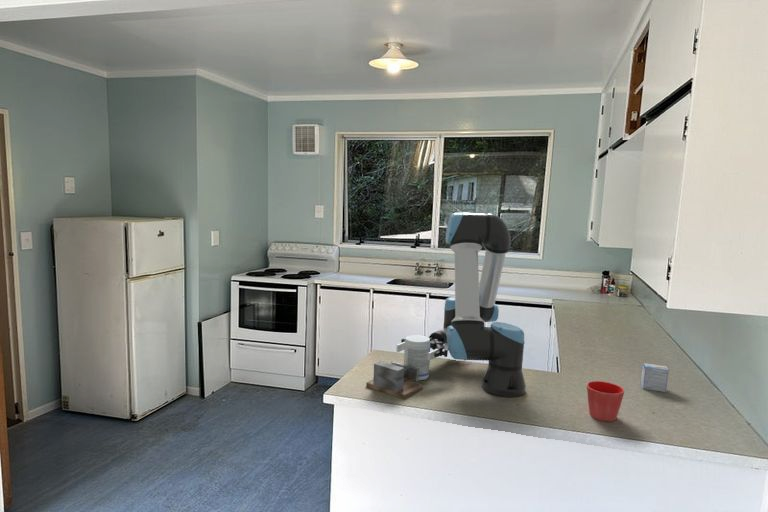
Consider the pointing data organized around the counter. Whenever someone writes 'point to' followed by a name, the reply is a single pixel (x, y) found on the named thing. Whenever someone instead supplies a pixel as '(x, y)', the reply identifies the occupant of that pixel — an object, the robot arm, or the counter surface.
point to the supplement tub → (417, 354)
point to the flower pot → (604, 400)
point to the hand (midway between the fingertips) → (412, 352)
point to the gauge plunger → (408, 371)
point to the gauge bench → (402, 393)
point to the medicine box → (654, 377)
